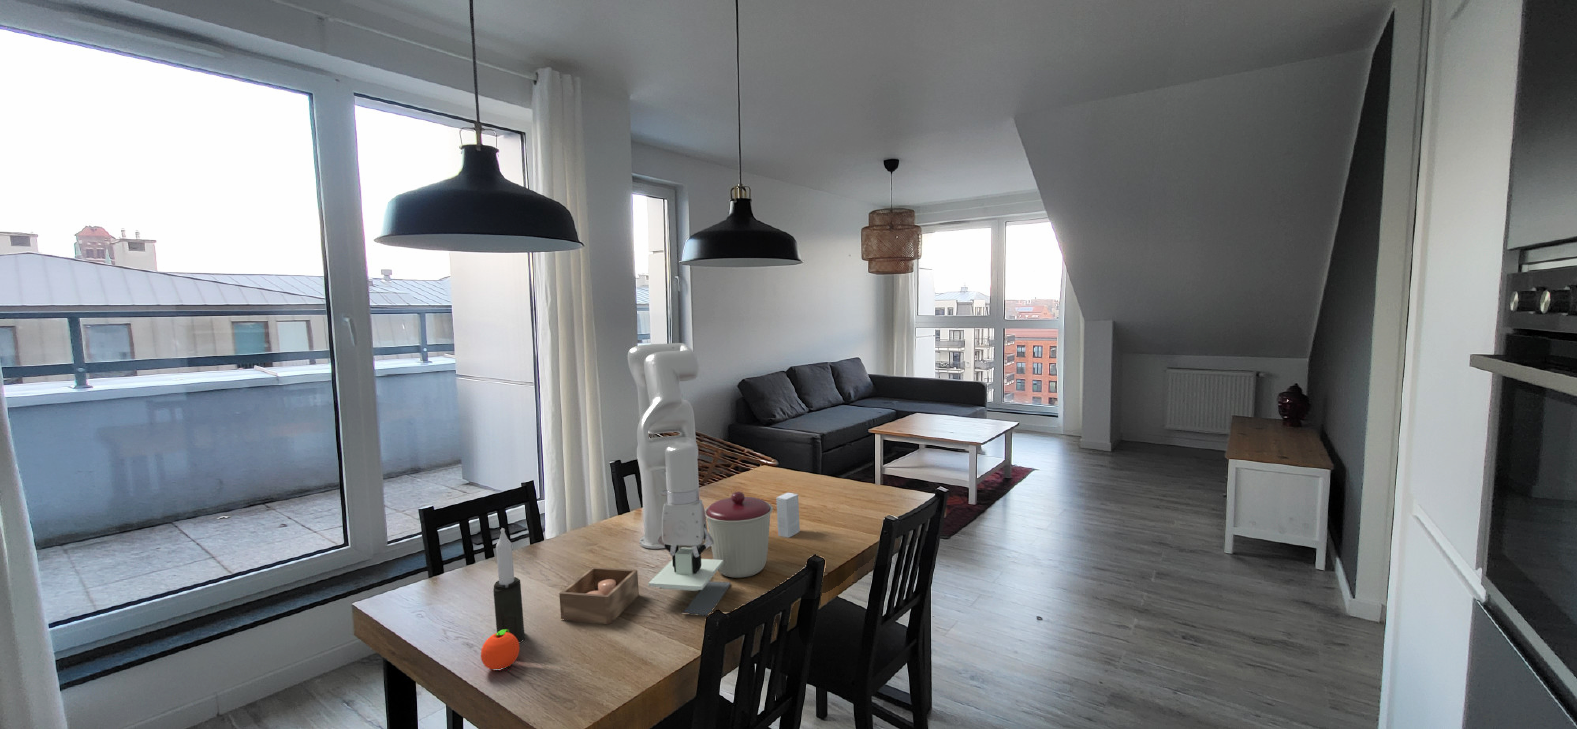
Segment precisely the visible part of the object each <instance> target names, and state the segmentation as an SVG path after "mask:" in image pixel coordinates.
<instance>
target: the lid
mask: <svg viewBox="0 0 1577 729" xmlns="http://www.w3.org/2000/svg"><path fill="white" fill-rule="evenodd" d="M693 556H694V553H693V549H692V547H687V546H682V547H679V550H678V551H677V552H676V553H675V562H676V572H674V567H673V561H672V559H671V560H670V561H669V562H668V563H667V564H666V565H665V566H664V567H663V568H662V569H661V570H660V571H659V572H658V573H657V574H656V575H655V576H654V577H653V578H652V579H650V581H649V582H648V587H652V588H659V589H661V590H662V589H663V590H677V591H678V590H679V591H691V592H692V591H693V592H699V591H700V590H702V589H703V588H704V587H705V585H706V584H707V583H708V582H709V581H711V580H712V578H713V577H714V575H715V574H716V573H717V571H718V569H719V568H720V567H721V565H722V564H723V560H714V558H711V559H710V558H701V568H700V569H699V570H698V571H697V573H693V566H692V557H693Z"/></svg>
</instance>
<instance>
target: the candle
mask: <svg viewBox="0 0 1577 729" xmlns="http://www.w3.org/2000/svg"><path fill="white" fill-rule="evenodd" d="M499 531H500V535H499V539H498V541H497V543H496V545H495V549H496V563H497V573H498V576H497V577H498V580H497V581H496V582H495V583H494V584H493V591H492V592H493V602H494V604H493V605H494V614H495V625H496V626H495V627H496V633H498V632H499V631H500V630H504V629H508V630H509V633H511V634H513V635H514V636H515V637H516V638H517V640H518V642H521V641H522V640H523V639H524V640H525V622H524V611H523V599H522V583H521V579H519V577H515V572H514V560H513V559H514V558H513V547H512V546H513V545H512V541H510V540H509V538H508V536H507V534H506V532H505V531H506V529H505V528H503V527H501V529H500V530H499ZM506 632H508V631H506ZM521 643H522V642H521Z"/></svg>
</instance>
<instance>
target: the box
mask: <svg viewBox="0 0 1577 729" xmlns="http://www.w3.org/2000/svg"><path fill="white" fill-rule="evenodd" d="M607 579H612V580H615V581H616V587H615V588H614V589H613V590H612V591H611V592H610V593H608V594H607V595H599V594H586V593H588V592H591V591H598V583H599V582H601V581H603V580H607ZM558 594H559V595H558V596H559V606H560V607H559V610H560V620H561V619H564V620H563V621H565V620H572V621H571V622H577V621H581V622H580V623H588V624H589V623H590V624H591V623H592V624H600V623H603V624H604V625H611V624H612V623H613V622H614V621H615V620H616V619H617V618H618V617H619V616H620V614H622V613H623V612H624V611H625V610H626V609H627V608H628V607H629V606H630V605H631V604H632V603H633V602H634V600H636V598H637V597H638V596H639V595H640V590H639V575H638V569H629V568H625V569H624V568H609V567H599V566H597V567H596V566H595V567H591V568H589V569H588V570H587V571H586V572H584V573H583V574H581V576H579V577H578V578H577V579H575V580H574V581H573V582H571V583H570V584H569V585H568V586H567V587H565V588H564V589H563V590H562V591H560V592H559V593H558ZM617 616H618V617H617ZM610 623H611V624H610ZM603 624H602V625H603Z"/></svg>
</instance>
